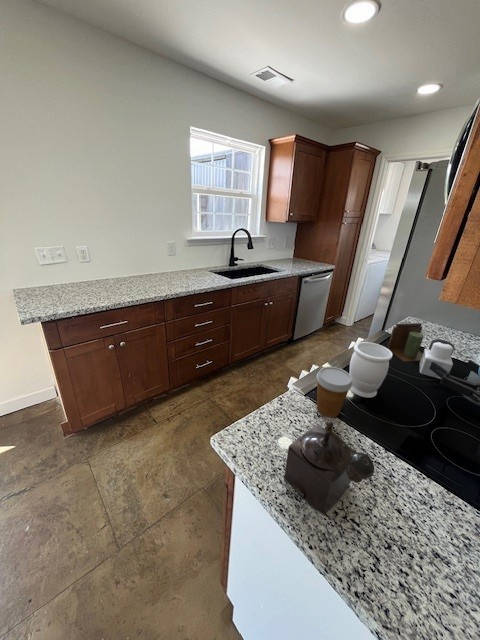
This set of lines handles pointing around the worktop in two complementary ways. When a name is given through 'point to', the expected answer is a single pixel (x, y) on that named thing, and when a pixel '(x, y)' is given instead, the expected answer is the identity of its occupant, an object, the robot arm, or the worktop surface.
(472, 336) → the worktop surface
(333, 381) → the disposable coffee cup
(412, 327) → the spice rack
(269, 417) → the worktop surface
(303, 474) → the brown coffee grinder
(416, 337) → the spice tin
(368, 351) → the jar
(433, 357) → the container
